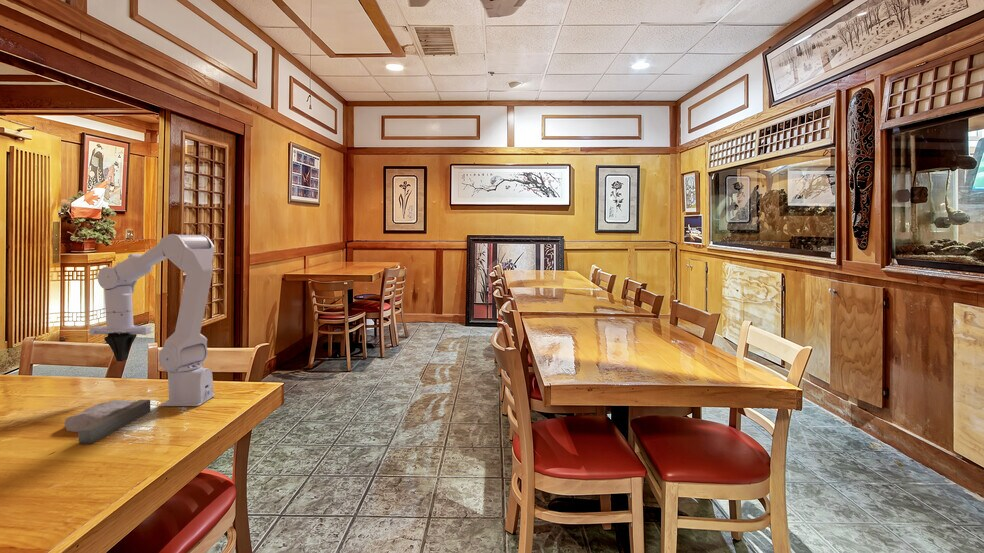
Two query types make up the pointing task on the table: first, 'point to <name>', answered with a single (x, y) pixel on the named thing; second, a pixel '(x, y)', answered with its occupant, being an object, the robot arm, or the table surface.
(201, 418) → the table surface
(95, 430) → the bar
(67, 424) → the stone block
